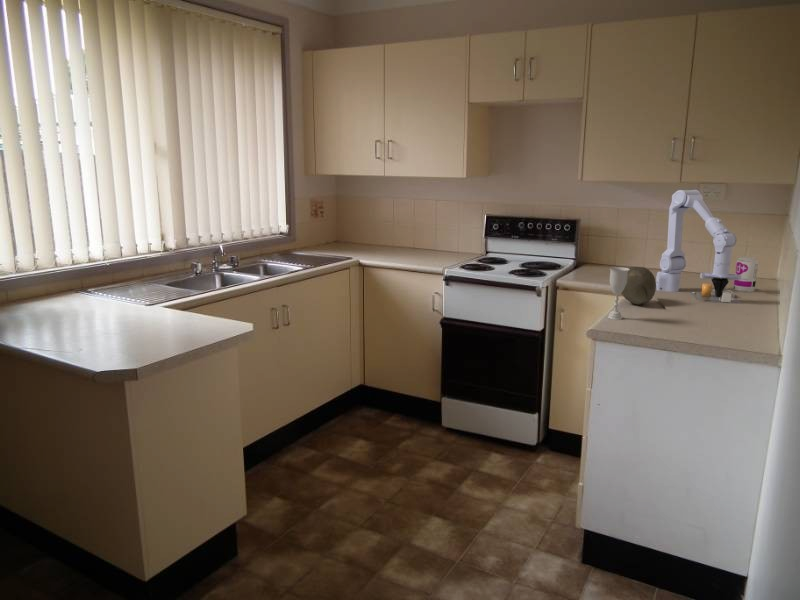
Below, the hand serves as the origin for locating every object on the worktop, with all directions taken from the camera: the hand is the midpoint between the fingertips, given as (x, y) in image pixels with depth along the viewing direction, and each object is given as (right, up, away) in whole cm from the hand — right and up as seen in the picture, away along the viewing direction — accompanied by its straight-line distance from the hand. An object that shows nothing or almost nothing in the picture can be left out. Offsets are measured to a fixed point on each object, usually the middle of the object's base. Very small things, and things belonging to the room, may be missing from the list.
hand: (717, 296), depth 252 cm
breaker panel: (+2, -1, +6) cm, 7 cm away
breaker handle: (+3, -2, 0) cm, 3 cm away
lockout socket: (+7, 0, +10) cm, 12 cm away
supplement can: (+23, +2, +23) cm, 33 cm away
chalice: (-49, -8, -24) cm, 55 cm away
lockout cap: (0, 0, +9) cm, 9 cm away
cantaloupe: (-34, -3, -2) cm, 34 cm away
